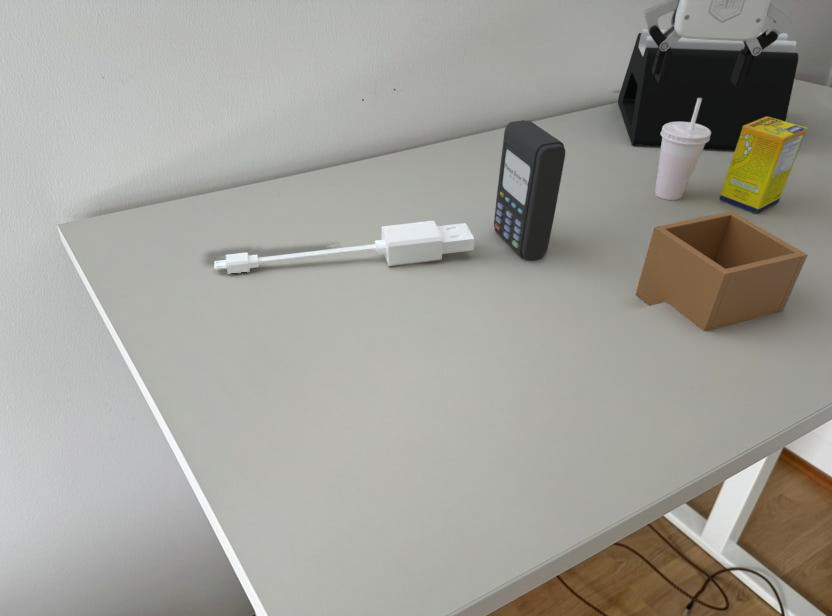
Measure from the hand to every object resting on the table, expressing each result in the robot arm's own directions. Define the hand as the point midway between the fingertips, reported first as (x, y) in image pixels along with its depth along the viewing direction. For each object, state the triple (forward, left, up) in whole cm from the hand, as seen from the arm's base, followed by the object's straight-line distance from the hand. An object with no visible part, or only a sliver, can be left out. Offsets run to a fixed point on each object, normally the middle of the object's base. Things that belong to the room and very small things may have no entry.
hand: (696, 82), depth 94 cm
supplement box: (-9, +6, -16) cm, 20 cm away
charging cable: (+50, +1, -16) cm, 52 cm away
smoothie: (0, 0, -16) cm, 16 cm away
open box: (+16, +26, -16) cm, 34 cm away
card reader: (+28, +5, -16) cm, 33 cm away
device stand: (-22, -21, -16) cm, 34 cm away
